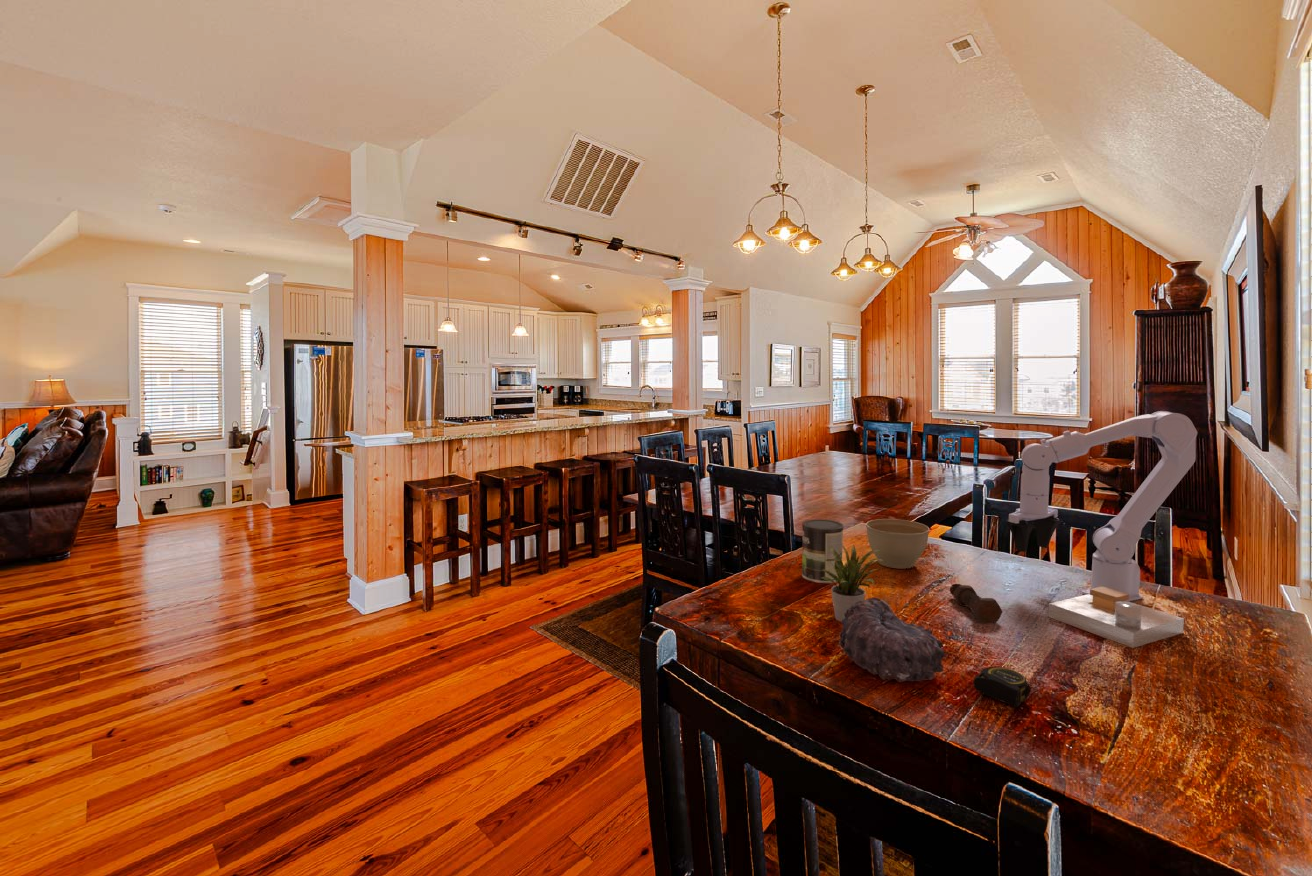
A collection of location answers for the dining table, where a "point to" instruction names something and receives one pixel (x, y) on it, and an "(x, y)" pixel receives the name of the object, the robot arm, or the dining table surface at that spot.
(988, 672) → the tape measure
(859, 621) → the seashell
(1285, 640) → the dining table surface
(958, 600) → the bolt
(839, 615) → the house plant
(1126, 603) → the grey slab with hole
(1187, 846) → the dining table surface
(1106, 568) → the robot arm
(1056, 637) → the dining table surface
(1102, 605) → the tan chamfered block
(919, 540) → the planter bowl
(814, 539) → the coffee can
